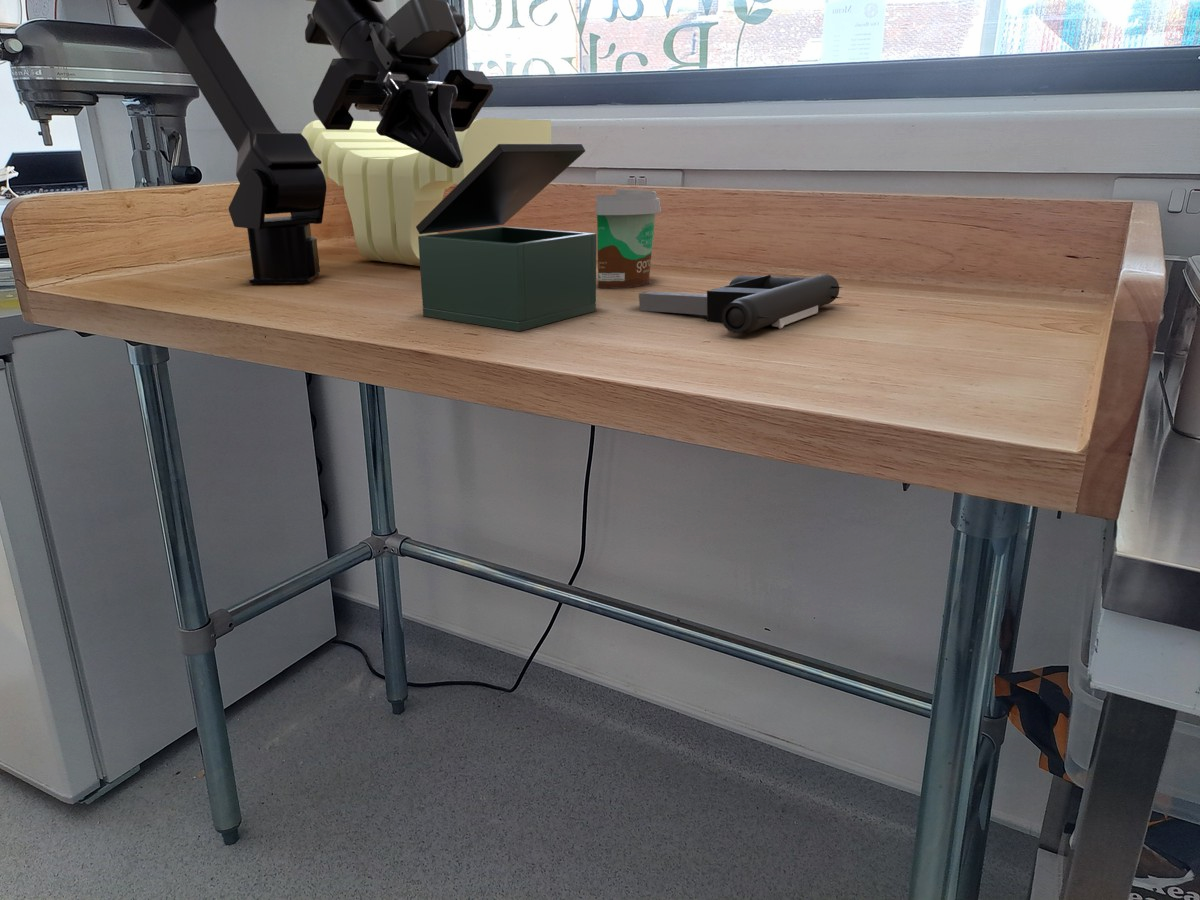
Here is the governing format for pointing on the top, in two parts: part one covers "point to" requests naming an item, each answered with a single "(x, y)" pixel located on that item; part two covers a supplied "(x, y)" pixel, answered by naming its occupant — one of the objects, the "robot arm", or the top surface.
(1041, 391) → the top surface
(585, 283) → the box
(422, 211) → the slatted curved stool
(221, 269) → the top surface
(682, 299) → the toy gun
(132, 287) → the top surface
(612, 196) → the food container
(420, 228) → the box lid
